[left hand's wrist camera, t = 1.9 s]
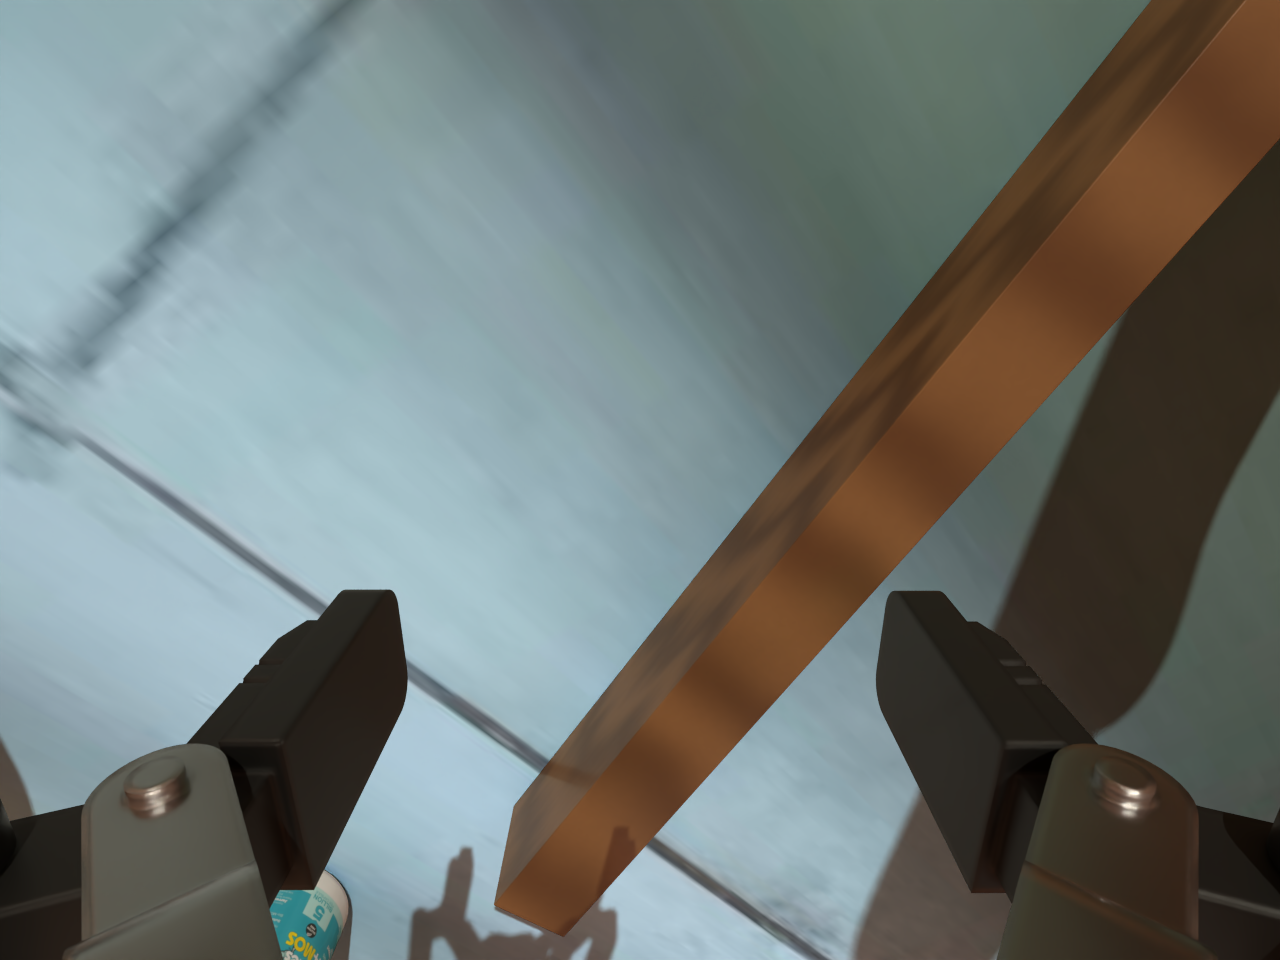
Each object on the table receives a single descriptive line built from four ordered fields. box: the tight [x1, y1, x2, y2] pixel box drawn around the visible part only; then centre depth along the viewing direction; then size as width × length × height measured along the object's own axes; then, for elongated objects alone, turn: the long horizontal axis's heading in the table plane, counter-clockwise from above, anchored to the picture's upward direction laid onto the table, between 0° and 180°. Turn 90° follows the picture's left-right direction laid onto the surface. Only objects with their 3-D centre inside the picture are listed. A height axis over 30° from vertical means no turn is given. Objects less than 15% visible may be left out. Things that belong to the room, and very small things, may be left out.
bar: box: [494, 0, 1280, 937], centre depth 30 cm, size 83×5×7 cm, turn 146°
